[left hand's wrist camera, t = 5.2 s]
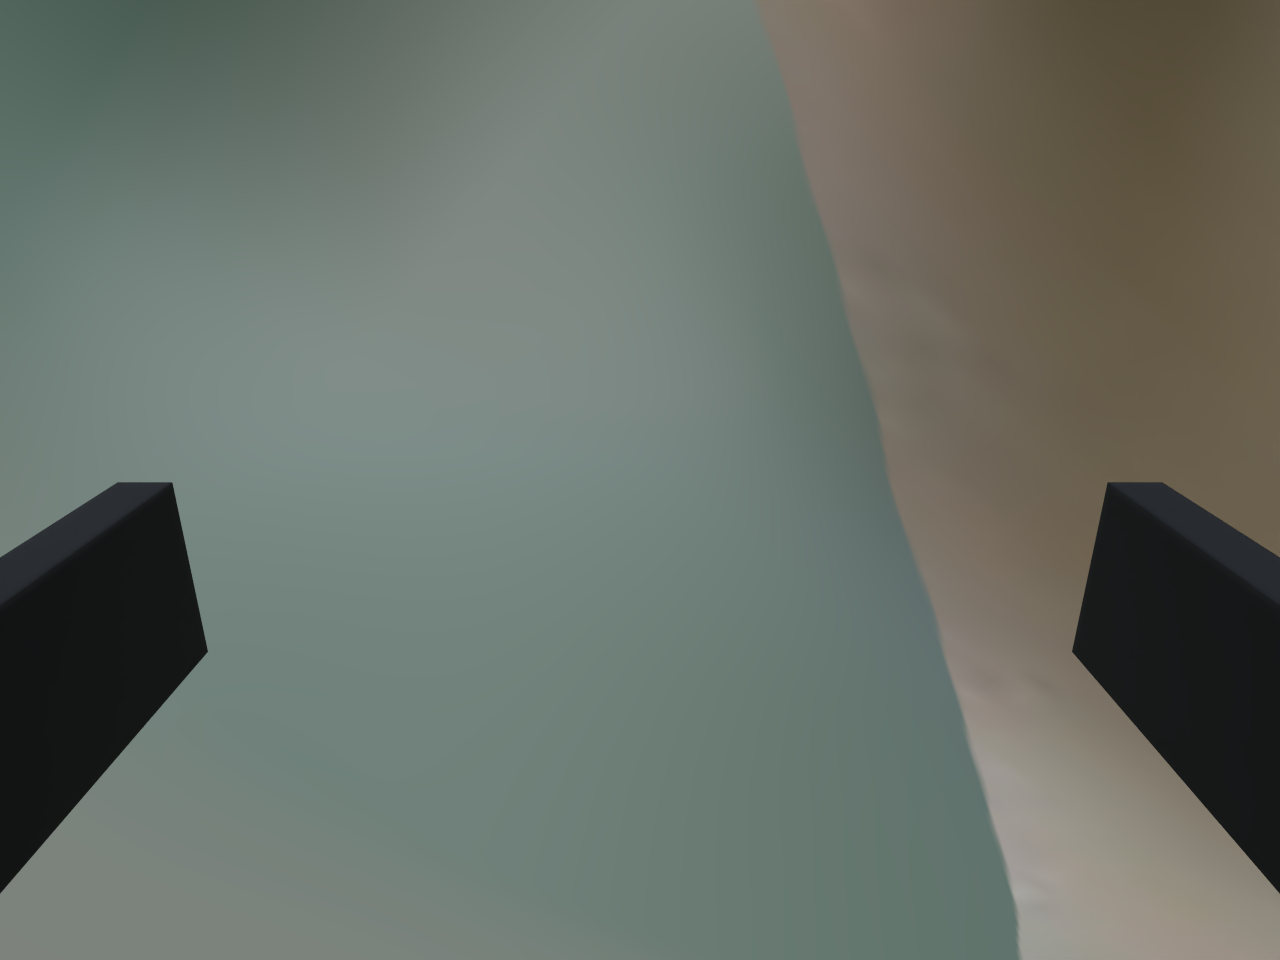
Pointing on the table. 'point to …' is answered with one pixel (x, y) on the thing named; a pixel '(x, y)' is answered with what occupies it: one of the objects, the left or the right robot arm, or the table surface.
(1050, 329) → the table surface
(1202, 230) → the table surface
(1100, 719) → the table surface
